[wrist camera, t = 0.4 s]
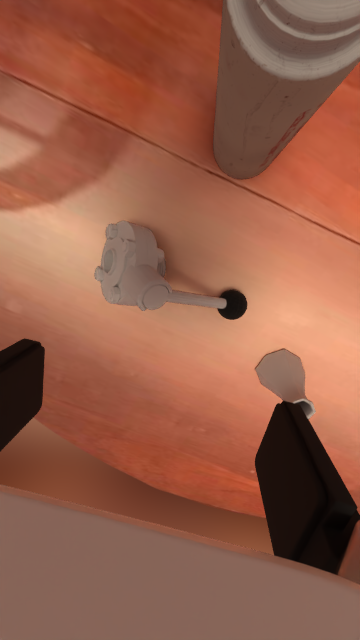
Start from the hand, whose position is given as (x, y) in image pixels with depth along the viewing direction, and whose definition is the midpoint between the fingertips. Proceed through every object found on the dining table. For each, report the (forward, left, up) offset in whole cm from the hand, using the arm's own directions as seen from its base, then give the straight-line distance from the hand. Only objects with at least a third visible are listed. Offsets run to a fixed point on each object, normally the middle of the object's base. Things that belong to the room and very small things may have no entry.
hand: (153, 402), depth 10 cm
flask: (+11, +17, -30) cm, 36 cm away
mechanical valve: (0, -2, -30) cm, 30 cm away
